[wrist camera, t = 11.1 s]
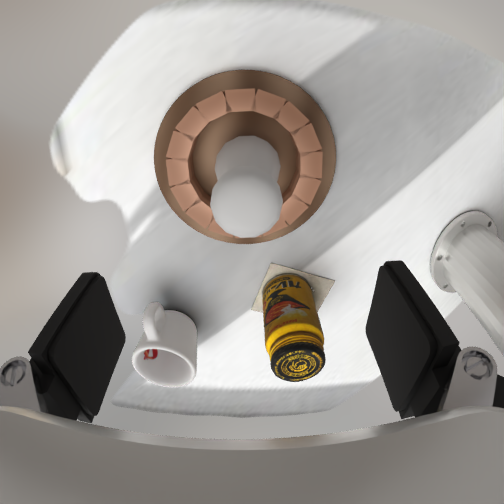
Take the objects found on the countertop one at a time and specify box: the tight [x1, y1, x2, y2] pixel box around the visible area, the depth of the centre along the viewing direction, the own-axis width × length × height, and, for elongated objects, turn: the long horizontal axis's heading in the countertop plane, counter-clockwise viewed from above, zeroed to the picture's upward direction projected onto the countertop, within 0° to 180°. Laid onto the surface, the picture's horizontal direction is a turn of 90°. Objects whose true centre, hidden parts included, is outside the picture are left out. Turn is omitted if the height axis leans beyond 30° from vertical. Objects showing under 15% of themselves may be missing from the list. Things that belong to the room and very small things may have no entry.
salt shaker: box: [210, 136, 283, 238], centre depth 23 cm, size 6×6×13 cm
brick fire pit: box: [154, 70, 336, 244], centre depth 28 cm, size 18×18×4 cm
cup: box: [132, 302, 197, 387], centre depth 35 cm, size 11×8×8 cm
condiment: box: [251, 264, 335, 382], centre depth 32 cm, size 7×8×12 cm
